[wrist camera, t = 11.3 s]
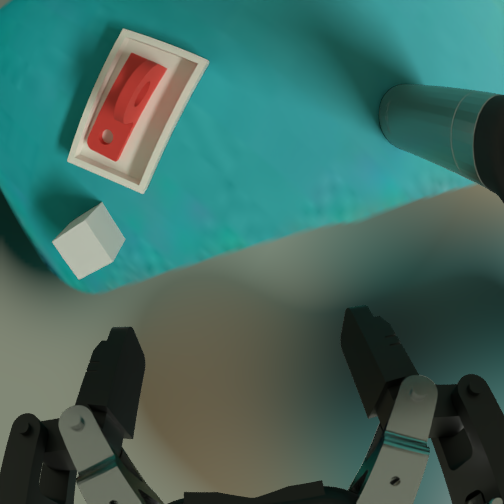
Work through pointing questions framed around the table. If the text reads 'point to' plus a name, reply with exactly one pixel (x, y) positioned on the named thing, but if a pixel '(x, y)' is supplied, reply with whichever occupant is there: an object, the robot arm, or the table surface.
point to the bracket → (125, 105)
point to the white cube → (90, 241)
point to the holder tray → (151, 119)
